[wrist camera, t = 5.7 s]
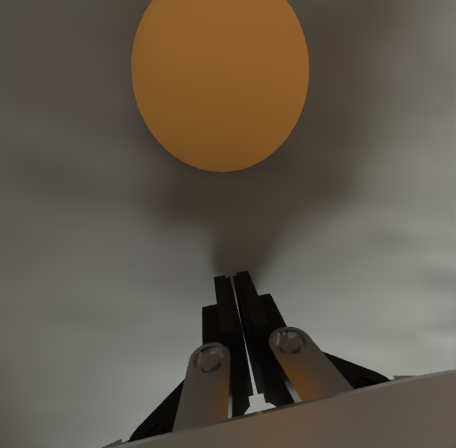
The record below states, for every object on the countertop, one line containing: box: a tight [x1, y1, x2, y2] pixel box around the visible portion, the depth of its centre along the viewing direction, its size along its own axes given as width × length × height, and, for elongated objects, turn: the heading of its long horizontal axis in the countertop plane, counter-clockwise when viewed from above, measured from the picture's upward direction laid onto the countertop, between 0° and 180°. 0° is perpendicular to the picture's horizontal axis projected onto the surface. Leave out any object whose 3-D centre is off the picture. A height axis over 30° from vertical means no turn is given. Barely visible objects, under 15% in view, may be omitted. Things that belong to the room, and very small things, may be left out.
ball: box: [131, 0, 309, 172], centre depth 8 cm, size 6×6×6 cm
